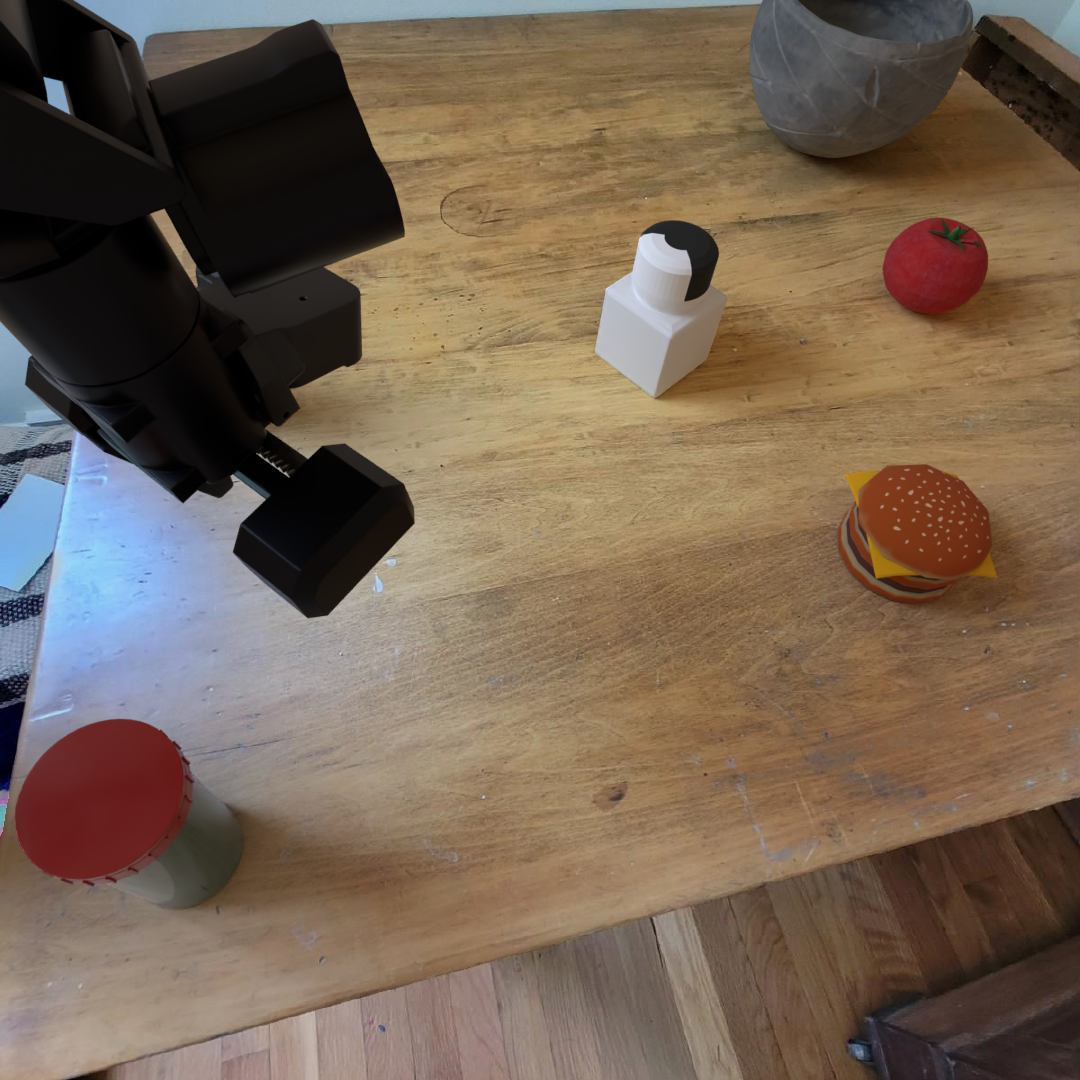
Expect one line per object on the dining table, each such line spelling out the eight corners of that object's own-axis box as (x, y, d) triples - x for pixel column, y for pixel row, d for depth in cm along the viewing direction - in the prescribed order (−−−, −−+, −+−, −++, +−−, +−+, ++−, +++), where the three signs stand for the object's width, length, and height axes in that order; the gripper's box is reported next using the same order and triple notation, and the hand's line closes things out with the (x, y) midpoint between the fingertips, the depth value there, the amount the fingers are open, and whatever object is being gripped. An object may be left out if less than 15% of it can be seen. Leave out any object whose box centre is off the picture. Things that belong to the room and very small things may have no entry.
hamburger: (817, 502, 62) (853, 449, 56) (934, 501, 63) (980, 448, 57) (851, 611, 57) (893, 564, 51) (977, 607, 58) (1032, 560, 52)
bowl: (830, 221, 81) (897, 69, 68) (686, 119, 89) (721, -34, 76) (951, 155, 89) (1031, 8, 76) (808, 67, 96) (859, -80, 84)
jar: (115, 902, 44) (5, 861, 33) (154, 792, 47) (64, 723, 37) (224, 915, 44) (148, 878, 33) (256, 804, 47) (195, 739, 37)
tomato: (981, 313, 75) (1032, 241, 68) (915, 343, 72) (961, 271, 65) (915, 256, 79) (956, 183, 72) (849, 283, 76) (886, 209, 69)
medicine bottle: (646, 316, 71) (675, 196, 61) (708, 360, 69) (748, 243, 59) (592, 353, 68) (613, 234, 58) (654, 401, 66) (687, 285, 56)
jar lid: (0, 876, 34) (-18, 870, 33) (68, 719, 38) (54, 708, 36) (163, 895, 34) (151, 890, 33) (214, 737, 38) (206, 726, 36)
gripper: (470, 289, 27) (518, 516, 41) (137, 108, 34) (275, 356, 47) (226, 522, 23) (368, 685, 37) (-95, 268, 30) (127, 487, 44)
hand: (282, 534), depth 41 cm, fingers open, 9 cm apart
